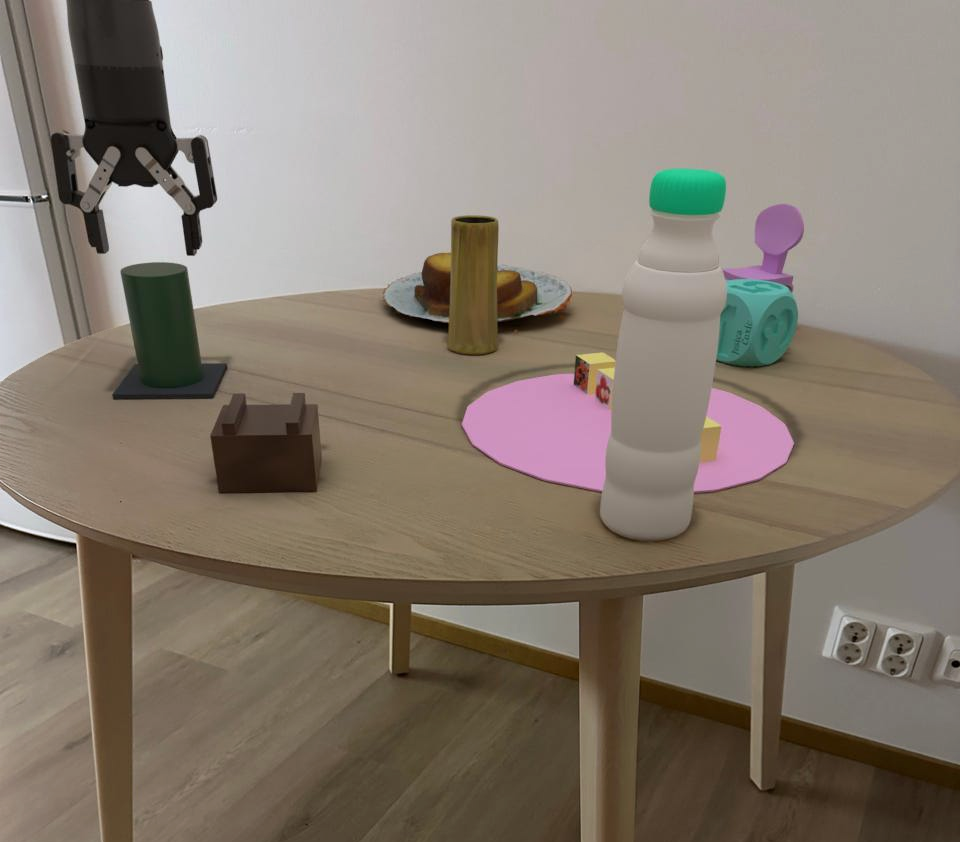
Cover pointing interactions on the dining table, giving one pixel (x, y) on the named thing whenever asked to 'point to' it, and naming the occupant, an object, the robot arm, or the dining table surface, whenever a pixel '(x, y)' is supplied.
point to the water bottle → (665, 360)
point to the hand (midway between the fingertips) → (148, 253)
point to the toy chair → (773, 245)
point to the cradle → (267, 446)
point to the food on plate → (515, 292)
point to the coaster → (202, 389)
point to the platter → (587, 426)
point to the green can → (162, 324)
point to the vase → (473, 285)
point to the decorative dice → (756, 322)
